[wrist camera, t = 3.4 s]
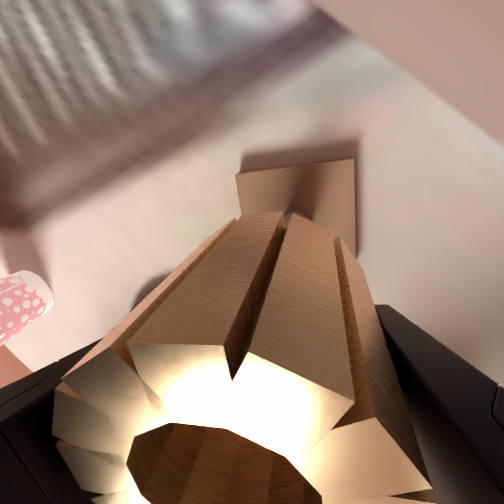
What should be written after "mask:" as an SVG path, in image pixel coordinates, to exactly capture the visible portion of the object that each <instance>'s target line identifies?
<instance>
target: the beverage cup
mask: <svg viewBox="0 0 504 504" xmlns="http://www.w3.org/2000/svg"><path fill="white" fill-rule="evenodd" d="M53 302H54V298H53V294H52V291H51V289H50V288H49V286H48V285H47V283H46V282H45V281H44V280H43V279H42V278H40V277H39V276H38V275H36V274H34V273H32V272H30V271H24V270H22V271H19V272H16V273H14V274H11V275H9V276H6V277H4V278H1V279H0V346H2V345H3V344H4V343H6V342H7V341H8V340H10V339H11V338H12V337H14V336H15V335H16V334H18V333H19V332H20V331H22V330H23V329H24V328H26V327H27V326H28V325H30V324H31V323H32V322H34V321H35V320H36V319H38V318H39V317H40V316H42V315H43V314H45V313H46V312H47V311H49V310H50V309H51V307H52V306H53Z"/></svg>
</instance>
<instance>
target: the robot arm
mask: <svg viewBox="0 0 504 504" xmlns="http://www.w3.org/2000/svg"><path fill="white" fill-rule="evenodd" d="M374 306H375V309H376V312H377V316H378V319H379V322H380V325H381V328H382V331H383V335H384V337H385V341H386V344H387V347H388V350H389V353H390V356H391V359H392V362H393V366H394V369H395V372H396V375H397V378H398V381H399V384H400V388H401V391H402V394H403V397H404V400H405V403H406V406H407V409H408V413H409V416H410V419H411V422H412V425H413V428H414V431H415V434H416V438H417V441H418V444H419V447H420V450H421V453H422V456H423V459H424V463H425V466H426V469H427V472H428V475H429V478H430V481H431V484H432V488H433V491H434V494H435V497H436V500H437V503H438V504H504V388H503V387H501V386H499V387H498V384H497V383H496V382H495V381H493V380H492V379H490V378H489V377H488V376H486V375H485V374H483V373H482V372H481V371H479V370H478V369H477V368H475V367H474V366H472V365H471V364H470V363H468V362H467V361H465V360H464V359H463V358H461V357H460V356H458V355H457V354H456V353H454V352H453V351H452V350H450V349H449V348H447V347H446V346H445V345H443V344H442V343H440V342H439V341H438V340H436V339H435V338H433V337H432V336H431V335H429V334H428V333H427V332H425V331H424V330H422V329H421V328H420V327H418V326H417V325H415V324H414V323H413V322H411V321H410V320H408V319H407V318H406V317H404V316H403V315H401V314H400V313H399V312H397V311H396V310H395V309H393V308H392V307H390V306H389V305H374ZM102 339H103V338H102ZM102 339H100V340H98V341H96V342H94V343H92V344H90V345H88V346H86V347H84V348H82V349H80V350H78V351H76V352H74V353H72V354H70V355H68V356H66V357H64V358H62V359H60V360H59V361H58V362H57V361H56V362H54V363H52V364H50V365H48V366H46V367H44V368H42V369H40V370H38V371H36V372H34V373H32V374H30V375H28V376H26V377H24V378H22V379H19V380H17V381H15V382H13V383H11V384H9V385H7V386H5V387H2V388H0V504H96V503H94V502H93V501H92V500H91V498H92V496H93V494H94V493H95V492H91V491H86V490H82V489H81V487H80V486H79V484H78V482H77V481H76V479H75V477H74V476H73V474H72V472H71V471H70V469H69V467H68V466H67V464H66V462H65V461H64V459H63V457H62V456H61V454H60V452H59V451H58V449H57V447H56V446H55V444H56V443H57V442H58V441H59V440H60V438H58V437H56V436H54V435H52V425H53V411H54V397H55V388H56V387H57V386H58V385H59V384H60V383H61V382H63V381H62V380H61V378H62V377H63V376H64V375H65V374H66V373H67V372H69V371H70V370H71V369H72V368H73V367H74V366H75V365H76V364H77V363H78V362H79V361H80V360H81V359H82V358H83V357H84V356H85V355H86V354H87V353H88V352H89V351H90V350H91V349H93V348H94V347H95V346H96V345H97V344H98V343H99V342H100V341H101V340H102Z"/></svg>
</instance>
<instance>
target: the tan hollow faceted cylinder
mask: <svg viewBox="0 0 504 504" xmlns="http://www.w3.org/2000/svg"><path fill="white" fill-rule="evenodd" d="M61 380H62V381H63V382H61V383H60V384H59V385H58V386H57V387H56V388H55V397H54V411H53V425H52V435H54V436H56V437H58V438H60V440H59V441H58V442H57V443H56V444H55V446H56V447H57V449H58V451H59V452H60V454H61V456H62V457H63V459H64V461H65V462H66V464H67V466H68V467H69V469H70V471H71V472H72V474H73V476H74V477H75V479H76V481H77V482H78V484H79V486H80V487H81V489H82V490H86V491H91V492H95V493H94V494H93V496H92V498H91V500H92V501H93V502H94V503H96V504H438V503H437V500H436V497H435V494H434V491H433V488H432V484H431V481H430V478H429V475H428V472H427V469H426V466H425V463H424V459H423V456H422V453H421V450H420V447H419V444H418V441H417V438H416V434H415V431H414V428H413V425H412V422H411V419H410V416H409V413H408V409H407V406H406V403H405V400H404V397H403V394H402V391H401V388H400V384H399V381H398V378H397V375H396V372H395V369H394V366H393V362H392V359H391V356H390V353H389V350H388V347H387V344H386V341H385V337H384V335H383V331H382V328H381V325H380V322H379V319H378V316H377V312H376V309H375V306H374V303H373V300H372V297H371V294H370V291H369V287H368V284H367V281H366V278H365V275H364V272H363V269H362V267H361V266H360V265H359V263H358V262H357V260H356V259H355V257H354V256H353V255H352V253H351V252H350V250H349V249H348V248H347V246H346V245H345V243H344V242H343V241H342V239H341V238H340V236H339V237H337V238H336V239H334V240H333V234H332V230H330V229H328V228H326V227H324V226H321V225H319V224H317V223H315V222H312V221H310V220H308V219H305V218H303V217H301V216H299V215H296V214H294V213H292V216H291V218H290V220H289V222H288V224H287V226H286V228H285V223H284V214H283V211H281V212H270V213H259V214H249V215H242V216H241V217H240V219H239V220H238V221H236V219H235V218H234V219H233V220H231V221H230V222H229V223H228V224H226V225H225V226H224V227H222V228H221V229H220V230H218V231H217V232H216V233H214V234H213V235H212V236H210V237H209V238H208V239H206V240H205V241H204V242H203V243H202V244H201V245H200V246H199V247H198V248H197V249H196V250H195V251H194V252H193V253H192V254H191V255H190V256H189V257H188V258H187V259H186V260H184V261H183V262H182V263H181V264H180V265H179V266H178V267H177V268H176V269H175V270H174V271H173V272H172V273H171V274H170V275H169V276H168V277H167V278H166V279H165V280H164V281H163V282H161V283H160V284H159V285H158V286H157V287H156V288H155V289H154V290H153V291H152V292H151V293H150V294H149V295H148V296H147V297H146V298H145V299H144V300H143V301H142V302H141V303H140V304H138V305H137V306H136V307H135V308H134V309H133V310H132V311H131V312H130V313H129V314H128V315H127V316H126V317H125V318H124V319H123V320H122V321H121V322H120V323H119V324H118V325H117V326H116V327H114V328H113V329H112V330H111V331H110V332H109V333H108V334H107V335H106V336H105V337H104V338H103V339H102V340H101V341H100V342H99V343H98V344H97V345H96V346H95V347H94V348H93V349H91V350H90V351H89V352H88V353H87V354H86V355H85V356H84V357H83V358H82V359H81V360H80V361H79V362H78V363H77V364H76V365H75V366H74V367H73V368H72V369H71V370H70V371H69V372H67V373H66V374H65V375H64V376H63V377H62V378H61Z"/></svg>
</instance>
